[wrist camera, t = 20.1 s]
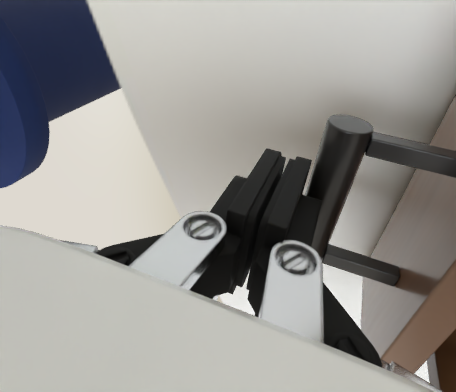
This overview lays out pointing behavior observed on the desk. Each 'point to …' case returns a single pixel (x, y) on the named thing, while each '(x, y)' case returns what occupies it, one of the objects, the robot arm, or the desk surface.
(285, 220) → the robot arm
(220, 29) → the desk surface
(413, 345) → the drawer
